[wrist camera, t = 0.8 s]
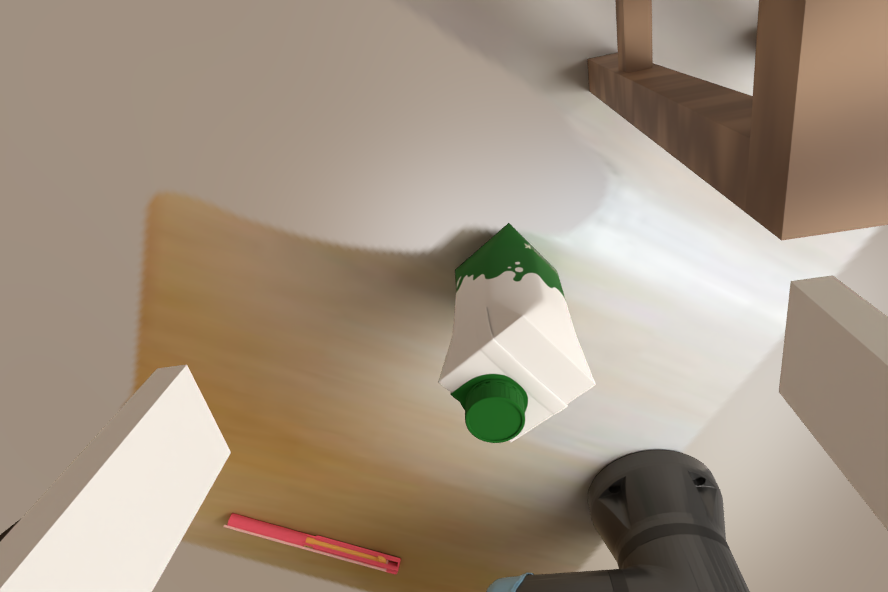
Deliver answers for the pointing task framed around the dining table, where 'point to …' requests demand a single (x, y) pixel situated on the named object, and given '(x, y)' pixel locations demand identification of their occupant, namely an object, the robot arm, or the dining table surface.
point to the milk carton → (511, 341)
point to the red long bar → (314, 543)
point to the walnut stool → (772, 113)
